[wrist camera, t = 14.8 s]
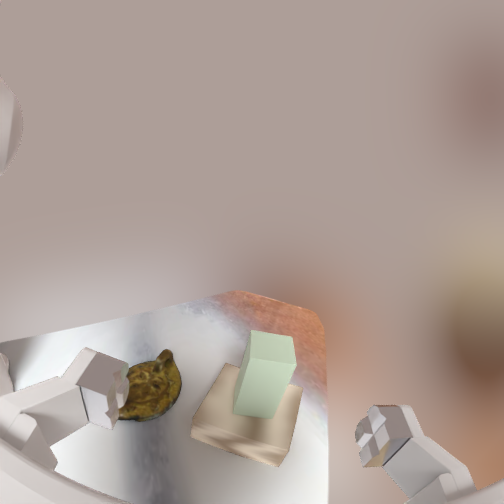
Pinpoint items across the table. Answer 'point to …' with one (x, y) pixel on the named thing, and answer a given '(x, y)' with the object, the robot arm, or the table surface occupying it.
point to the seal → (151, 388)
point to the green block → (264, 374)
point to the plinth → (245, 422)
